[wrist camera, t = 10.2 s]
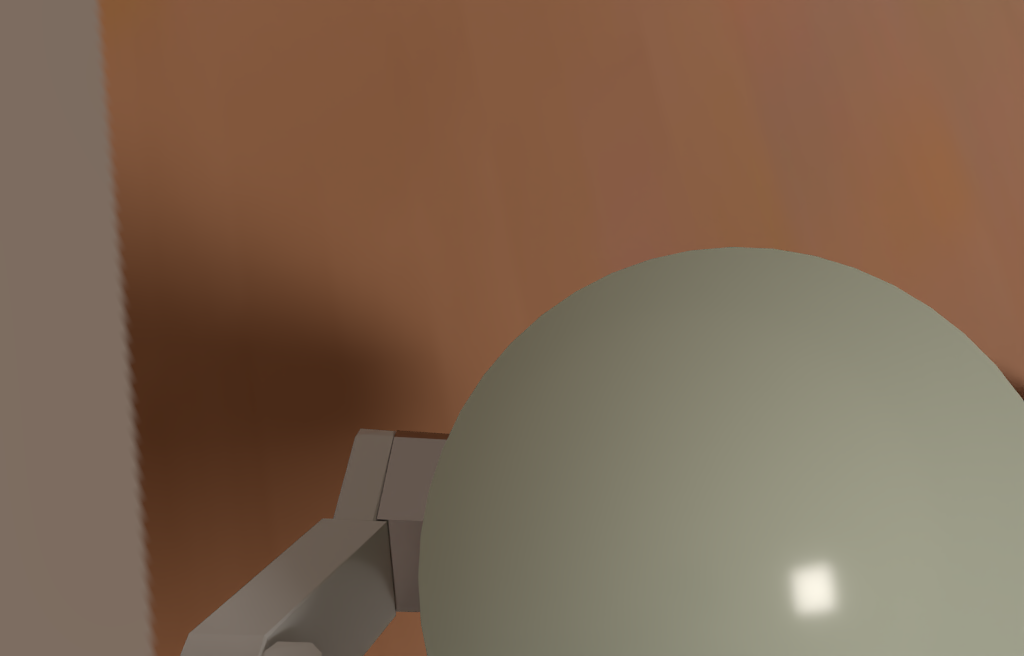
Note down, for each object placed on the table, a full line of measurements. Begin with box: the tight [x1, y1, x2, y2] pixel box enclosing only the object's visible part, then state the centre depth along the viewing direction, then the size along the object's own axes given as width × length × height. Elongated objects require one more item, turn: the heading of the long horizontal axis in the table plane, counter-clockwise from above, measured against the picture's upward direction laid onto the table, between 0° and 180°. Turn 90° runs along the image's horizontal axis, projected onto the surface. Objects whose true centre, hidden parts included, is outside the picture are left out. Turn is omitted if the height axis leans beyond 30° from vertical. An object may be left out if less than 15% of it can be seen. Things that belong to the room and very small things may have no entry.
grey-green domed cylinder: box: [418, 247, 1024, 656], centre depth 12 cm, size 5×5×12 cm
